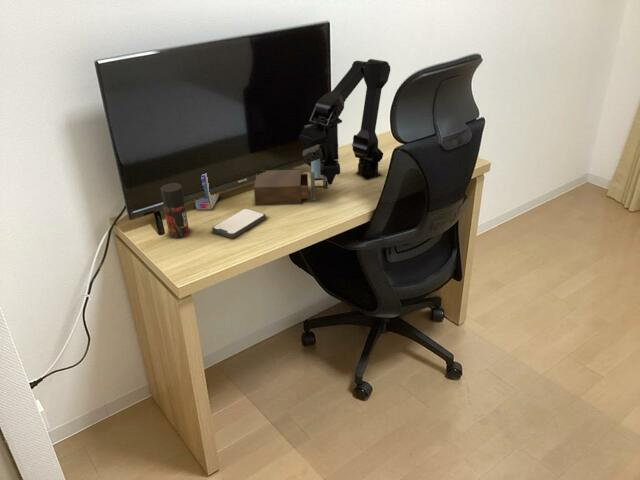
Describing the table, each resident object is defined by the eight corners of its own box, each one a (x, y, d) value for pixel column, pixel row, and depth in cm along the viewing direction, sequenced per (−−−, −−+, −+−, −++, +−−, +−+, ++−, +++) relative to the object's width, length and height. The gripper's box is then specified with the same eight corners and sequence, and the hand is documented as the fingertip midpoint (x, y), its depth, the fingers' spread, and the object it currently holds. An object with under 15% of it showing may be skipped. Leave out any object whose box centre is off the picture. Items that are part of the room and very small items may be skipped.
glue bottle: (319, 172, 208) (318, 141, 202) (326, 176, 204) (326, 145, 199) (309, 175, 206) (307, 144, 200) (315, 179, 202) (314, 148, 196)
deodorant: (171, 228, 174) (163, 183, 167) (191, 228, 174) (183, 182, 167) (166, 238, 169) (158, 192, 162) (186, 238, 169) (179, 191, 161)
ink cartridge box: (203, 196, 193) (197, 155, 186) (219, 196, 193) (214, 156, 186) (194, 209, 185) (188, 167, 178) (211, 210, 184) (205, 168, 177)
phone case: (245, 212, 183) (210, 232, 171) (245, 207, 182) (210, 227, 171) (267, 218, 179) (233, 240, 167) (267, 214, 178) (232, 235, 166)
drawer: (327, 184, 197) (327, 171, 195) (328, 199, 186) (328, 186, 184) (274, 185, 197) (273, 173, 195) (272, 201, 187) (271, 188, 184)
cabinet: (301, 186, 198) (301, 169, 195) (301, 203, 186) (300, 185, 183) (258, 187, 198) (257, 170, 195) (255, 205, 186) (253, 187, 183)
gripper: (303, 130, 191) (305, 173, 198) (303, 150, 174) (305, 197, 182) (337, 128, 191) (338, 172, 198) (340, 149, 174) (340, 196, 182)
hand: (329, 184), depth 190 cm, fingers closed, pressing on drawer
